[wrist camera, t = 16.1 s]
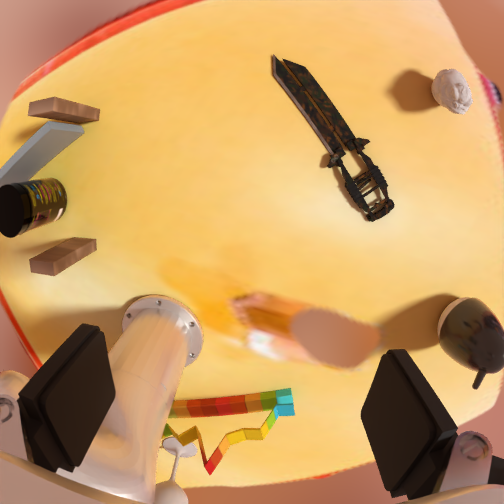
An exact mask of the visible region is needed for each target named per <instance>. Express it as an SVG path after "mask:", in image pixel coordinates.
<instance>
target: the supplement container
mask: <svg viewBox="0 0 504 504" xmlns="http://www.w3.org/2000/svg"><path fill="white" fill-rule="evenodd" d="M66 205H67V195H66V191H65V189H64V187H63V185H62V184H61V183H60V182H59V181H58V180H56V179H54V178H45V179H38V180H31V181H25V182H19V183H11V184H6V185H3V186H1V187H0V232H1V233H2V234H3V235H4V236H6V237H9V238H12V237H15V236H18V235H21V234H23V233H25V232H27V231H30V230H33V229H35V228H38V227H41V226H43V225H46V224H49V223H52V222H54V221H57V220H58V219H60V218H61V216H62V215H63V214H64V212H65V209H66Z"/></svg>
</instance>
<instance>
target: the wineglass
mask: <svg viewBox="0 0 504 504" xmlns="http://www.w3.org/2000/svg"><path fill="white" fill-rule="evenodd" d="M163 447H164V448H165V449H166V451H168V452H169V453H171V454H173V455H175V456H176V458H175V462H174V466H173V470H172V474H171V477H170V479H169V480H168V481H164V482H161V483H158V484H156V485H155V498H154V503H153V504H188V498H187V495H186V494H185V492H184V491H183V489H182V488H181V487H180V486H179V485H178V484H176V482H175V474H176V470H177V466H178V461H179V457H192V456H194V455H196V453H197V447H196V446H195V445H194V444H193V443H192V442H191V443H189V444H188V445H186V446H182V445H181V444H180V443H179V442H178V440H177V439H176V438H175V437H170V438H167V439H165V440H164V442H163Z"/></svg>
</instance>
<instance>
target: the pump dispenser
mask: <svg viewBox="0 0 504 504" xmlns="http://www.w3.org/2000/svg"><path fill="white" fill-rule="evenodd" d="M437 331H438V338H439V343H440V346H441V348H442V349H443V351H444V352H445V353H446V354H447V355H448V356H449V357H451V358H452V359H453V360H455V361H456V362H457V363H459V364H460V365H462V366H464V367H466V368H468V369H470V370H473V371H476V372H478V373H477V375H476V378H475V380H474V383H473V385H472V388H473V389H478V387H479V386H480V384H481V382H482V380H483V379H484V377H485V375H486V374H494V373H497V372H499V371H500V370H501V369H502V368H503V367H504V329H503V327H502V325H501V323H500V321H499V320H498V318H497V317H496V315H495V314H494V313H493V312H492V311H491V309H490V308H489V307H488V306H487V305H486V304H485V303H484V302H482V301H481V300H479V299H477V298H468V297H465V298H459V299H457V300H455V301H453V302H452V303H450V304H449V305H448V306H447V307H446V308H445V310H444V311H443V313H442V314H441V316H440V319H439V322H438V329H437Z"/></svg>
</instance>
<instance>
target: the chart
mask: <svg viewBox="0 0 504 504" xmlns="http://www.w3.org/2000/svg"><path fill="white" fill-rule="evenodd" d="M269 410H272V411H271V413H270V414H269V416H268V417H267V419H266V420H265V422H264V423H263V425H262V426H261V429H260V428H244V429H243V428H242V429H239V430H236V431H233V432H230V433H227V434H226V435H225V436H224V438H223V439H222V441H221V442H220V444H219V446H218V447H217V448H216V450H215V451H214V453H213V454H212V456H211V457H210V458H209V460H208V461H207V459H206V455H205V451H204V447H203V442H202V438H201V434H200V433H199V431H198V429H197V427H196V426H194V427H192V428H190V429H189V430H187V431H185V432H183V433H182V434H180V435H177V434H176V433H175V432H174V430H173V429H172V428H171V427H170V426H169V425H168V424H167V423H166V425H165V428H164V431H163V435H162V438H165V437H167V436H170V435H173V436H174V437H175V438H176V439H177V440H178V442H179V443H180V444H181V445H182V446H186V445H188V444H189V443H191V442H193V441H194V440H196V439H198V441H199V446H200V450H201V454H202V459H203V463H204V467H205V469H206V470H207V472H208V473H209V475H211V474H212V472H213V471H214V469H215V468H216V466H217V465H218V463H219V462H220V460H221V459H222V457H223V456H224V454H225V453H226V451H227V450H228V448H229V447H230V445H233V444H236V443H239V442H242V441H245V440H263V439H264V438H265V437H266V435H267V434H268V432H269V431H270V429H271V428H272V426H273V424H274V423H275V421H276V420H277V418H278V414H279V416H294V415H295V412H294V404H293V398H292V392H291V388H288V389H283V390H276V391H270V392H263V393H256V394H248V395H240V396H231V397H221V398H210V399H202V400H201V399H197V400H180V401H173V403H172V406H171V409H170V412H169V415H168V418H192V417H210V416H223V415H234V414H244V413H253V412H261V411H269ZM277 410H278V411H277ZM261 432H262V433H261ZM262 435H263V436H262ZM162 438H161V439H162Z"/></svg>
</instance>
